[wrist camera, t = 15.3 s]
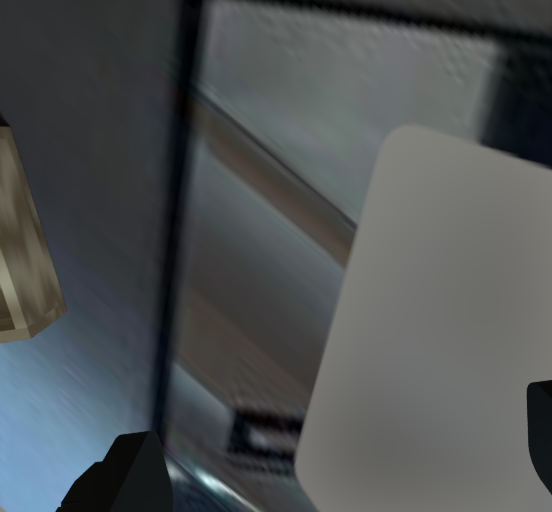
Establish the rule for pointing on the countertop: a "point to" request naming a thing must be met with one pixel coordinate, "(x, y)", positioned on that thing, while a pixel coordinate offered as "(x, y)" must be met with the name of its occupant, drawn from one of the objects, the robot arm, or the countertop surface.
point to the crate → (23, 255)
